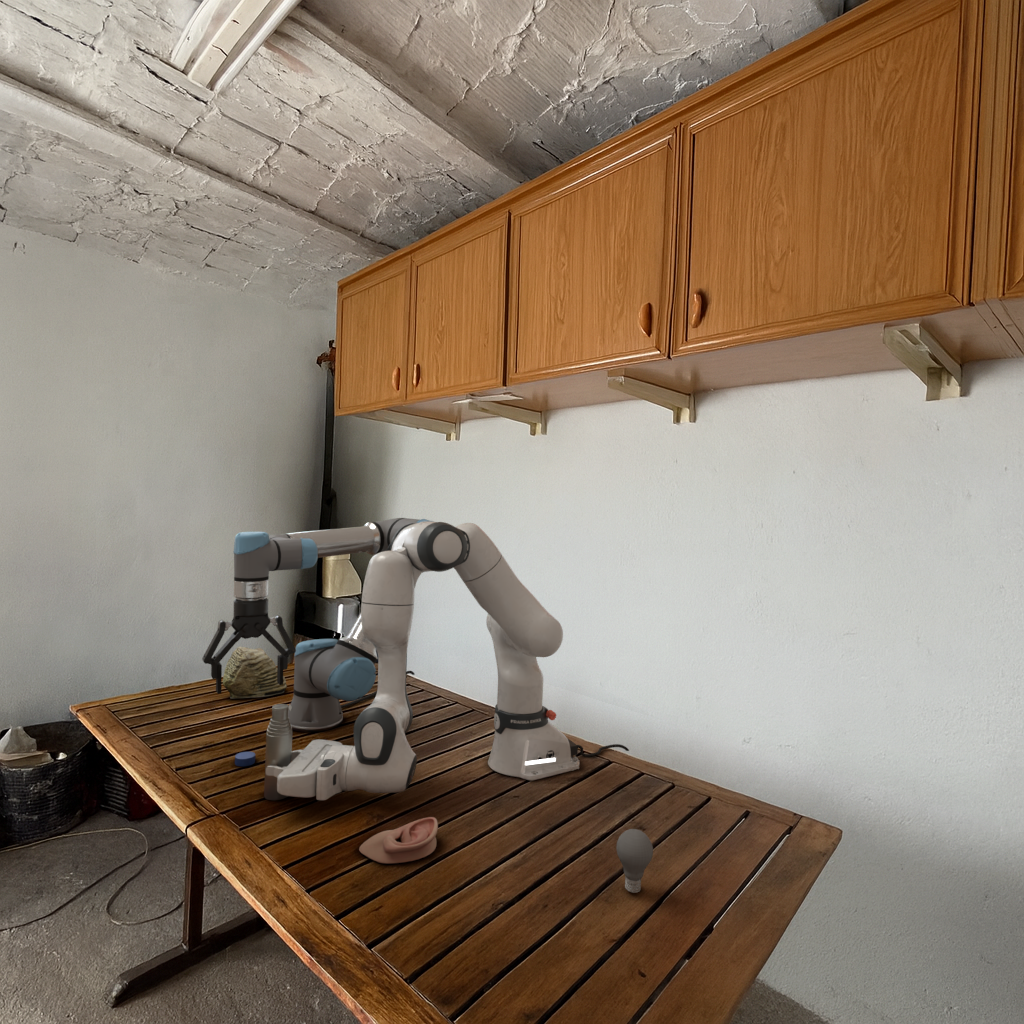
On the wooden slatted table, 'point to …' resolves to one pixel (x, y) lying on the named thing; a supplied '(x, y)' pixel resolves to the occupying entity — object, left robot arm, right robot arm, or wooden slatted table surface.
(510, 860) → the wooden slatted table surface
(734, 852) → the wooden slatted table surface
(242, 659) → the fossil
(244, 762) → the cap
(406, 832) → the anatomical model
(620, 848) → the light bulb
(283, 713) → the bottle
